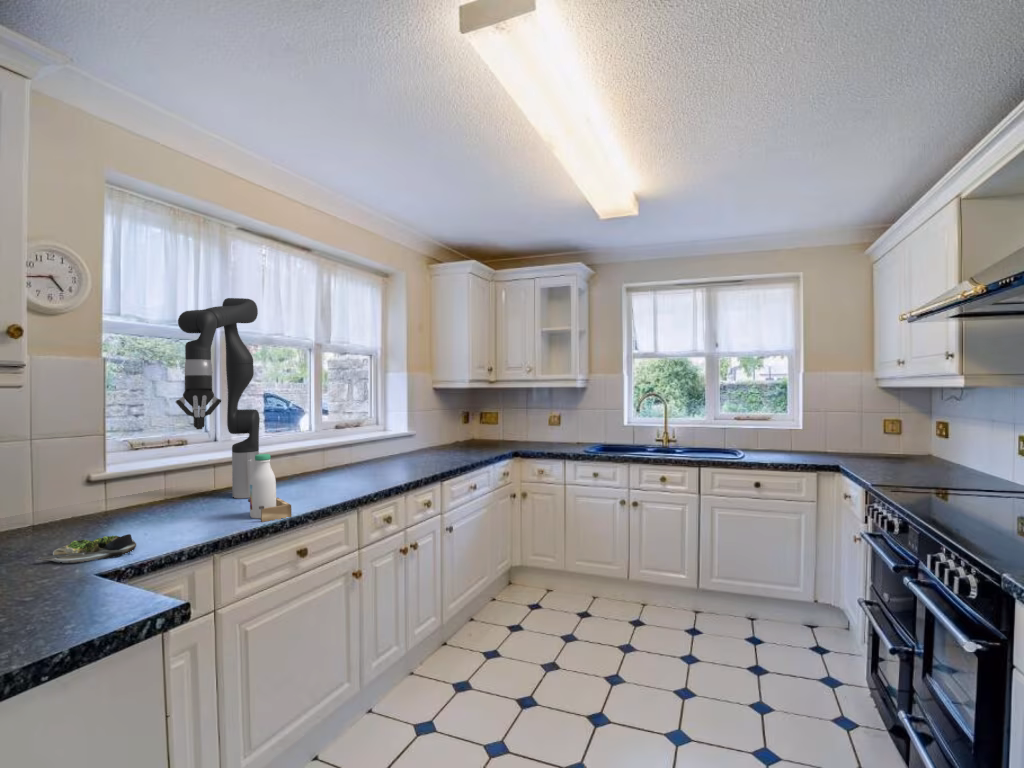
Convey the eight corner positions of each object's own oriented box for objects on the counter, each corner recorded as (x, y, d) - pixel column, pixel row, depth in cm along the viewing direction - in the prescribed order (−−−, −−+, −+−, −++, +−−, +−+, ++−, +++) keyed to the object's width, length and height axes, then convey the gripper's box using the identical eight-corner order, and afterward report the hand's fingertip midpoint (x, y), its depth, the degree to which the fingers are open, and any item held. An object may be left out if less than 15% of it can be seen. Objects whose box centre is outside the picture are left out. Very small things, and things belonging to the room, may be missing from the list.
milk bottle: (281, 513, 176) (280, 453, 176) (265, 519, 169) (265, 456, 169) (261, 512, 178) (260, 452, 178) (244, 518, 171) (244, 456, 171)
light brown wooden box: (248, 513, 177) (247, 499, 177) (277, 509, 183) (277, 495, 183) (260, 522, 166) (259, 506, 166) (291, 517, 172) (291, 502, 172)
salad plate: (39, 574, 122) (38, 554, 122) (36, 556, 136) (36, 538, 136) (140, 555, 136) (140, 536, 136) (129, 540, 149) (129, 523, 149)
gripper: (219, 374, 176) (220, 427, 176) (172, 374, 168) (172, 429, 168) (224, 374, 170) (224, 428, 170) (175, 374, 162) (176, 431, 162)
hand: (199, 429), depth 169 cm, fingers closed
